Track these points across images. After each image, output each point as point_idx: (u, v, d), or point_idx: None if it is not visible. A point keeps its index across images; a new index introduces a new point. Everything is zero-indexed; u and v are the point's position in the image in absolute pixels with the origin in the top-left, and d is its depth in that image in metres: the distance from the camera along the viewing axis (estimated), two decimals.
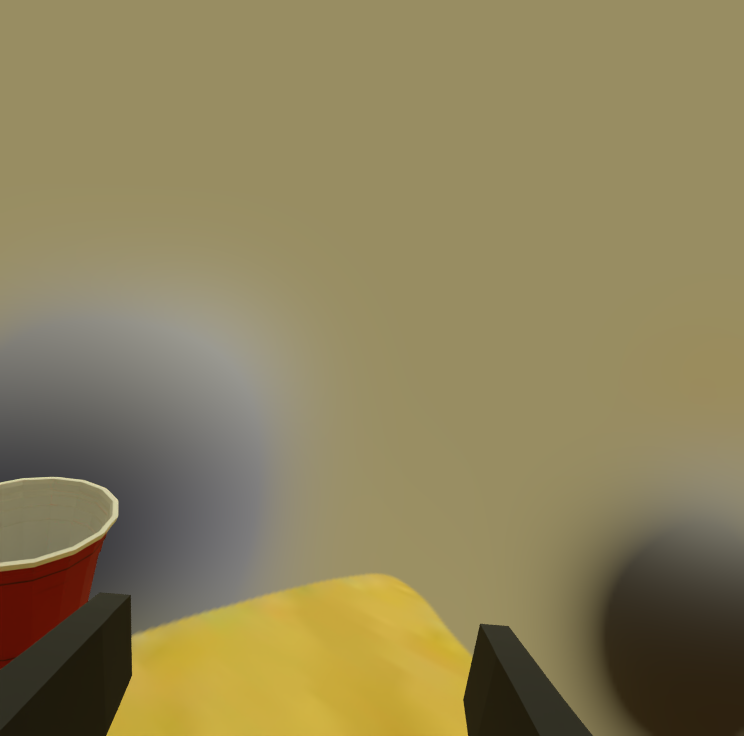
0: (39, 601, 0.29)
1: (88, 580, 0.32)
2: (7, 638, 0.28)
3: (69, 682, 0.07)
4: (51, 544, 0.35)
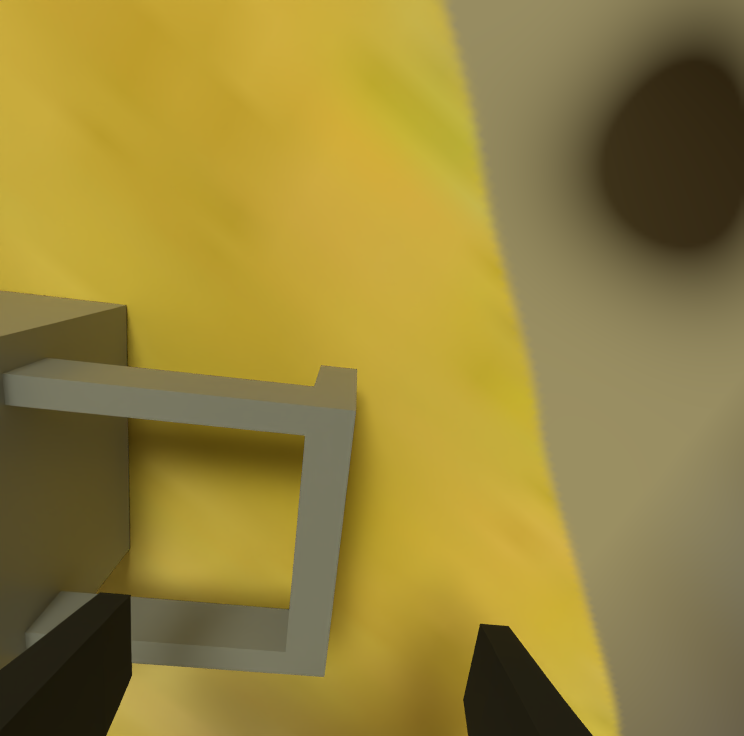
0: None
1: None
2: None
3: (69, 682, 0.07)
4: None
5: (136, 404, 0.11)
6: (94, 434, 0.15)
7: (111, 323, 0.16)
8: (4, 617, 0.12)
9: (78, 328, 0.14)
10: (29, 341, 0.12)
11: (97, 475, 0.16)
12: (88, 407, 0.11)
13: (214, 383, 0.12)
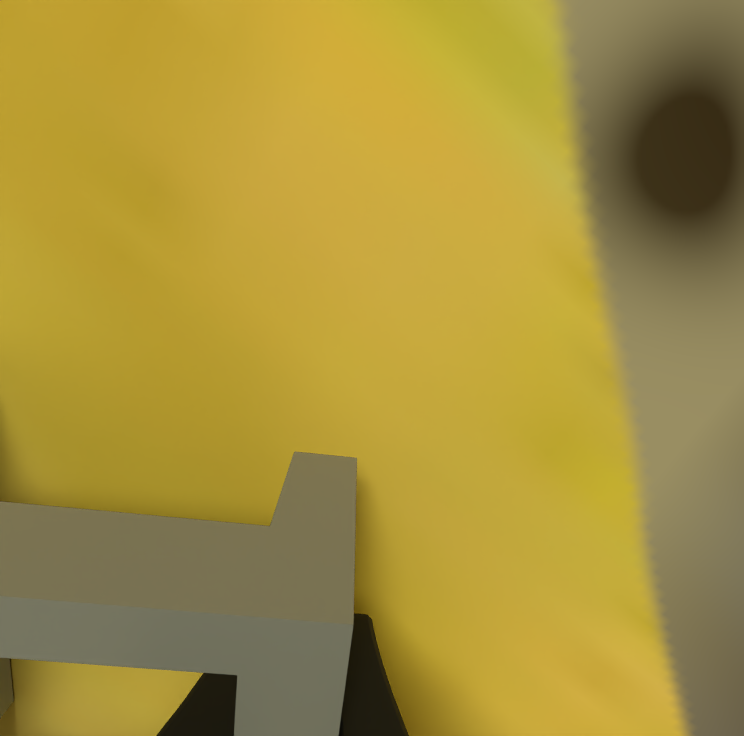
0: None
1: None
2: None
3: None
4: None
5: None
6: None
7: None
8: None
9: None
10: None
11: None
12: None
13: (49, 538, 0.06)
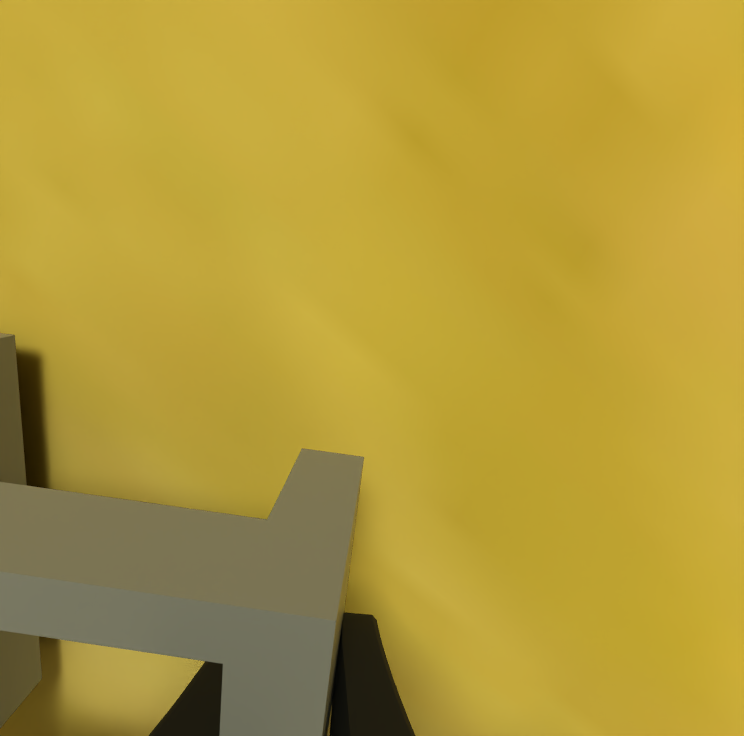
0: None
1: None
2: None
3: None
4: None
5: None
6: None
7: None
8: None
9: None
10: None
11: None
12: None
13: (56, 520, 0.06)
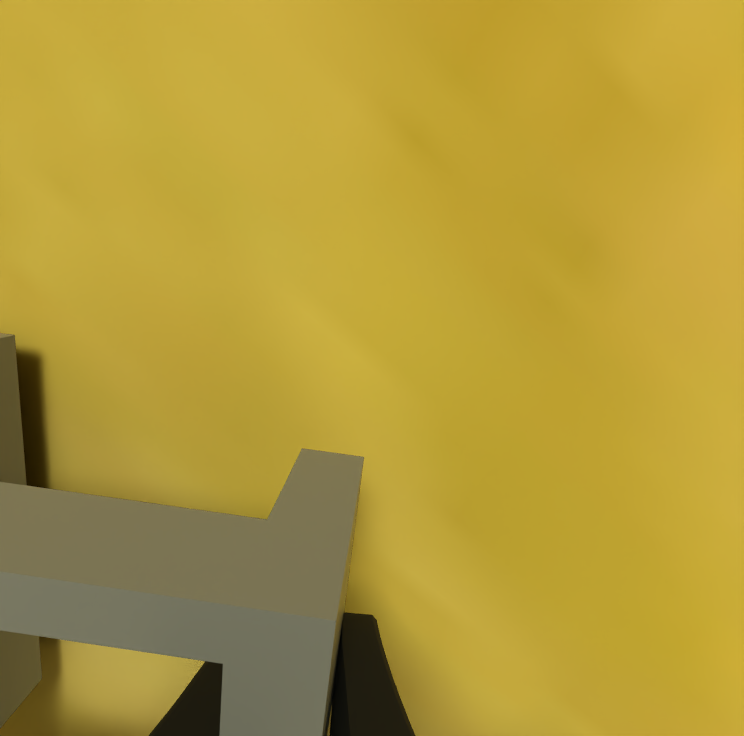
0: None
1: None
2: None
3: None
4: None
5: None
6: None
7: None
8: None
9: None
10: None
11: None
12: None
13: (56, 520, 0.06)
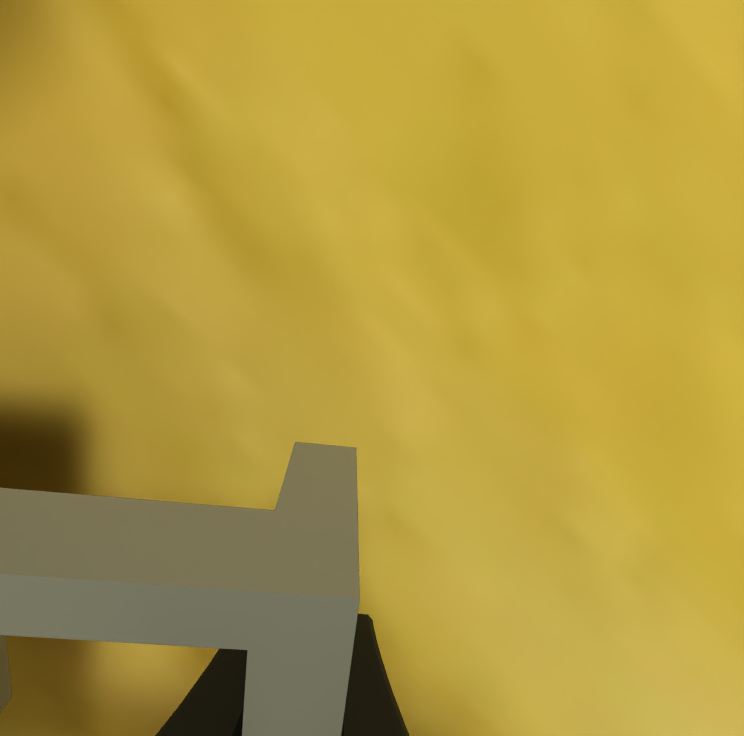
0: None
1: None
2: None
3: None
4: None
5: None
6: None
7: None
8: None
9: None
10: None
11: None
12: None
13: (60, 522, 0.06)
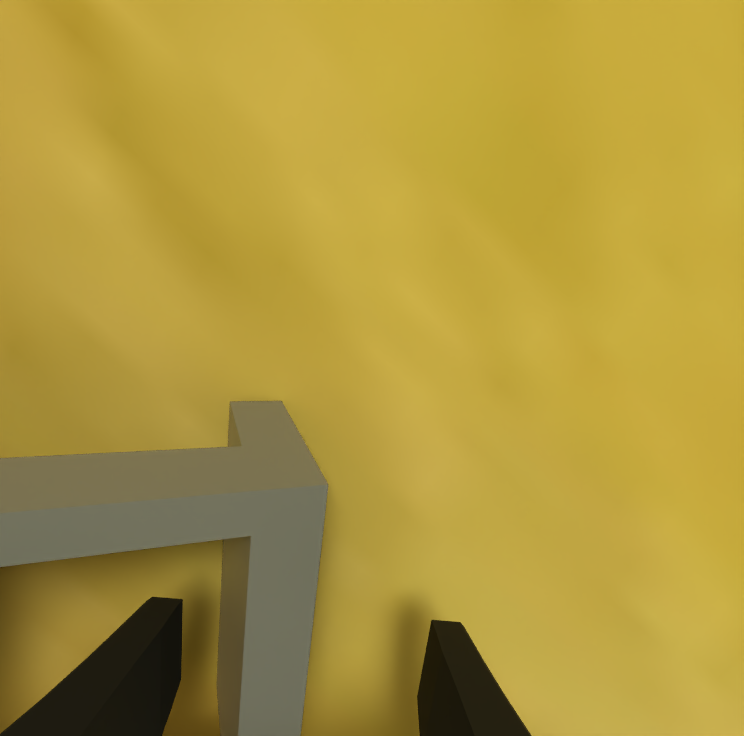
0: None
1: None
2: None
3: (134, 687, 0.07)
4: None
5: None
6: None
7: None
8: None
9: None
10: None
11: None
12: None
13: (70, 473, 0.07)
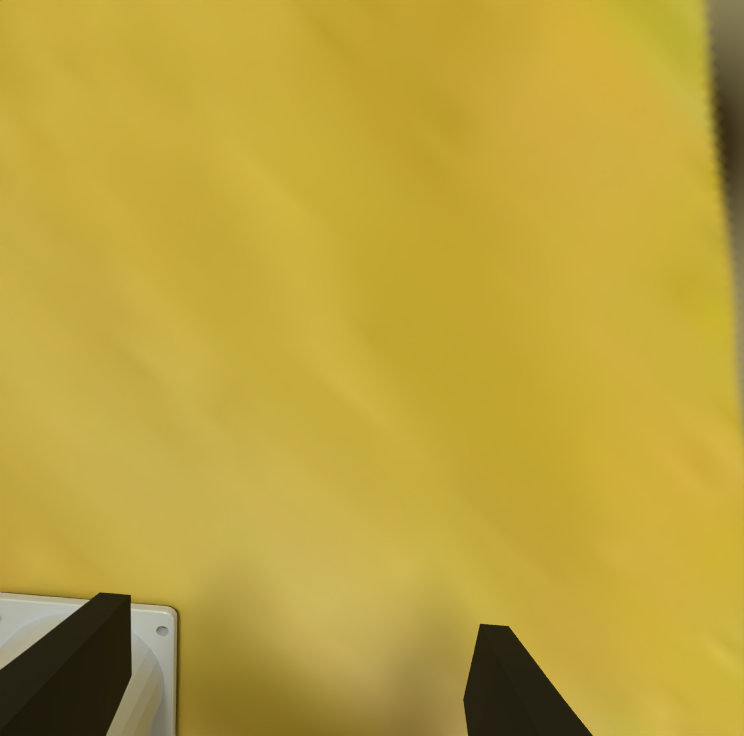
0: None
1: None
2: None
3: (69, 682, 0.07)
4: None
5: None
6: None
7: None
8: None
9: None
10: None
11: None
12: None
13: None
